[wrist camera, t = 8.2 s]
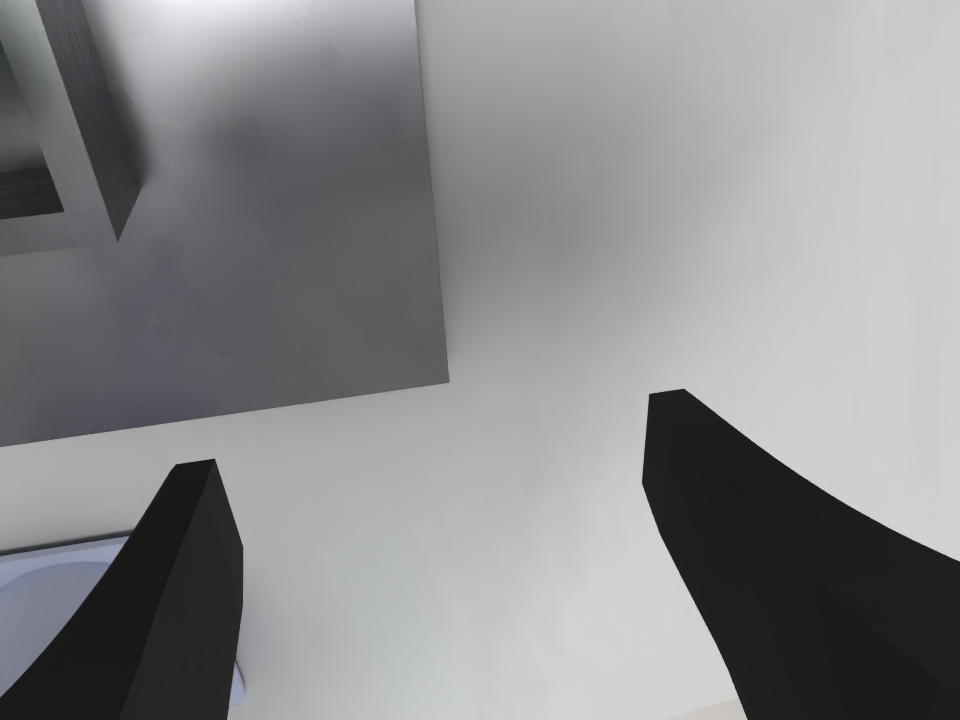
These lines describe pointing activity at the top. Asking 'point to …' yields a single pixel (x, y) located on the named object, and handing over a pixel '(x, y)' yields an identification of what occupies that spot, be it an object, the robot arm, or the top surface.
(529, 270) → the top surface
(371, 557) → the top surface
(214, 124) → the post base
